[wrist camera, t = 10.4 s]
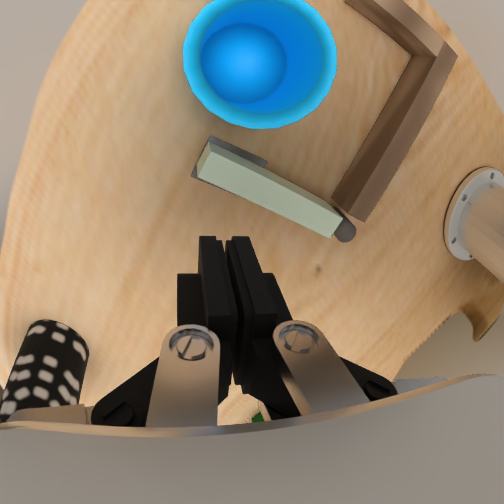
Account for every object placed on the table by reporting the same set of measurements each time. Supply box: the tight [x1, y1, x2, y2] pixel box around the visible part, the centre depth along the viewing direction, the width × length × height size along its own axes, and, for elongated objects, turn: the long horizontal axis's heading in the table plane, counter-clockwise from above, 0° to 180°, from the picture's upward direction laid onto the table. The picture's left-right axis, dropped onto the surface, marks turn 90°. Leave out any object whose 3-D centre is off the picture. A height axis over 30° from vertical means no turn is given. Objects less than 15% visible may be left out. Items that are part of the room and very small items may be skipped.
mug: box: [183, 0, 337, 129], centre depth 16 cm, size 12×8×8 cm
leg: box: [197, 142, 343, 239], centre depth 24 cm, size 12×2×4 cm, turn 60°
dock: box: [191, 0, 458, 242], centre depth 21 cm, size 14×21×4 cm, turn 152°
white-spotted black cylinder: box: [0, 320, 89, 424], centre depth 23 cm, size 8×8×20 cm
